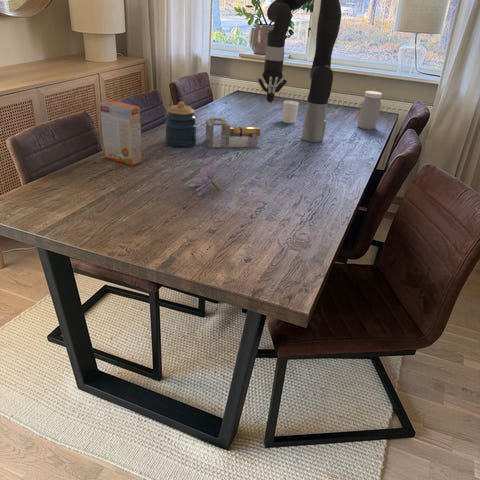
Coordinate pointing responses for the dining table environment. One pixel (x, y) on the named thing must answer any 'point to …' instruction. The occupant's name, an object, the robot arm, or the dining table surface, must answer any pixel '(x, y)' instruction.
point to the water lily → (206, 178)
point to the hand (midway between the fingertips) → (269, 101)
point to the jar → (369, 110)
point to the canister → (180, 126)
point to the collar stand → (227, 136)
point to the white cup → (290, 111)
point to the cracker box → (121, 132)
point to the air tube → (244, 131)
